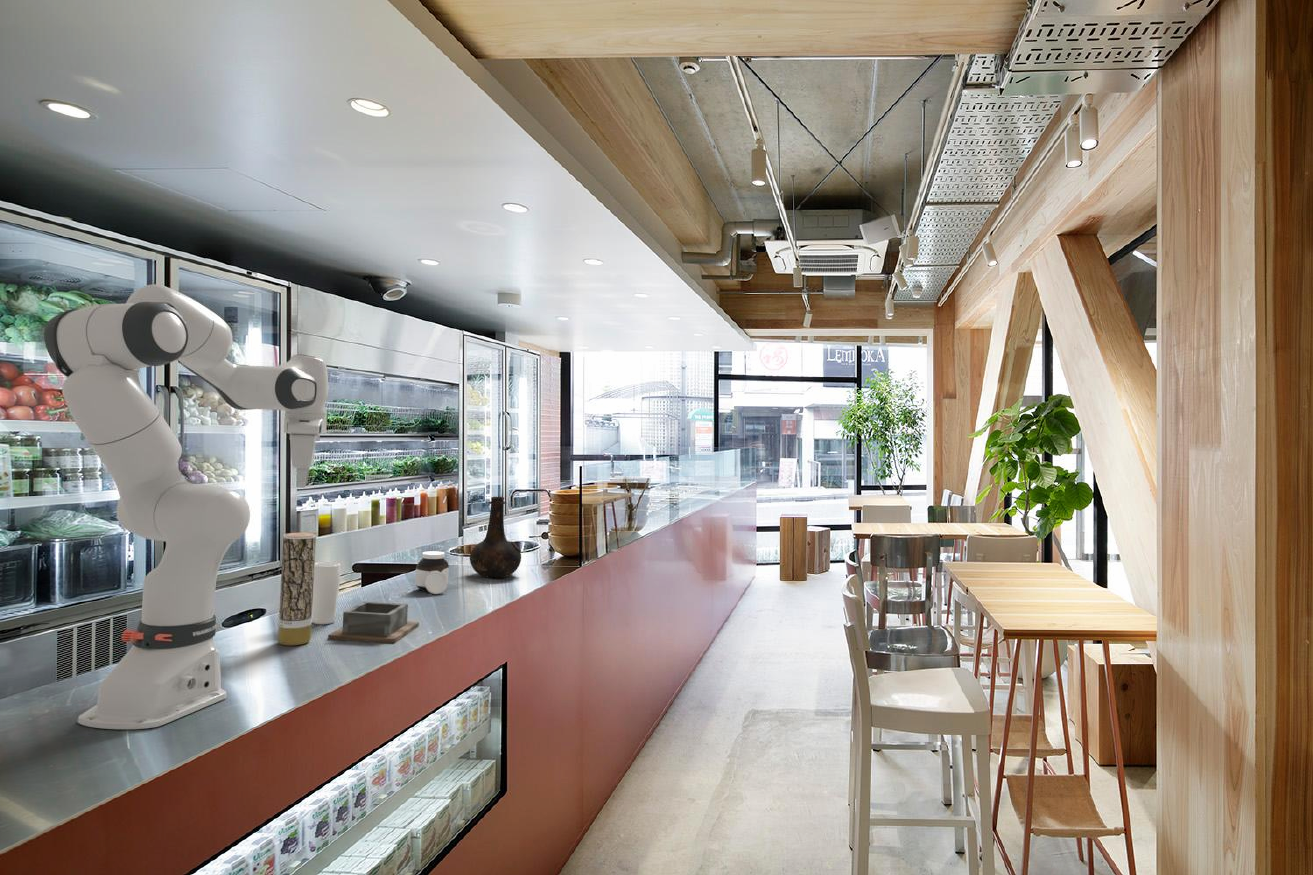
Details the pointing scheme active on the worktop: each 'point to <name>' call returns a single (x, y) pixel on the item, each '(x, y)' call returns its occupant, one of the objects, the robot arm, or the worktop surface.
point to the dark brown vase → (495, 547)
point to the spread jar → (432, 572)
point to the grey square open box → (375, 623)
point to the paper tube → (296, 588)
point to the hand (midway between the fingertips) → (302, 485)
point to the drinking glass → (325, 592)
